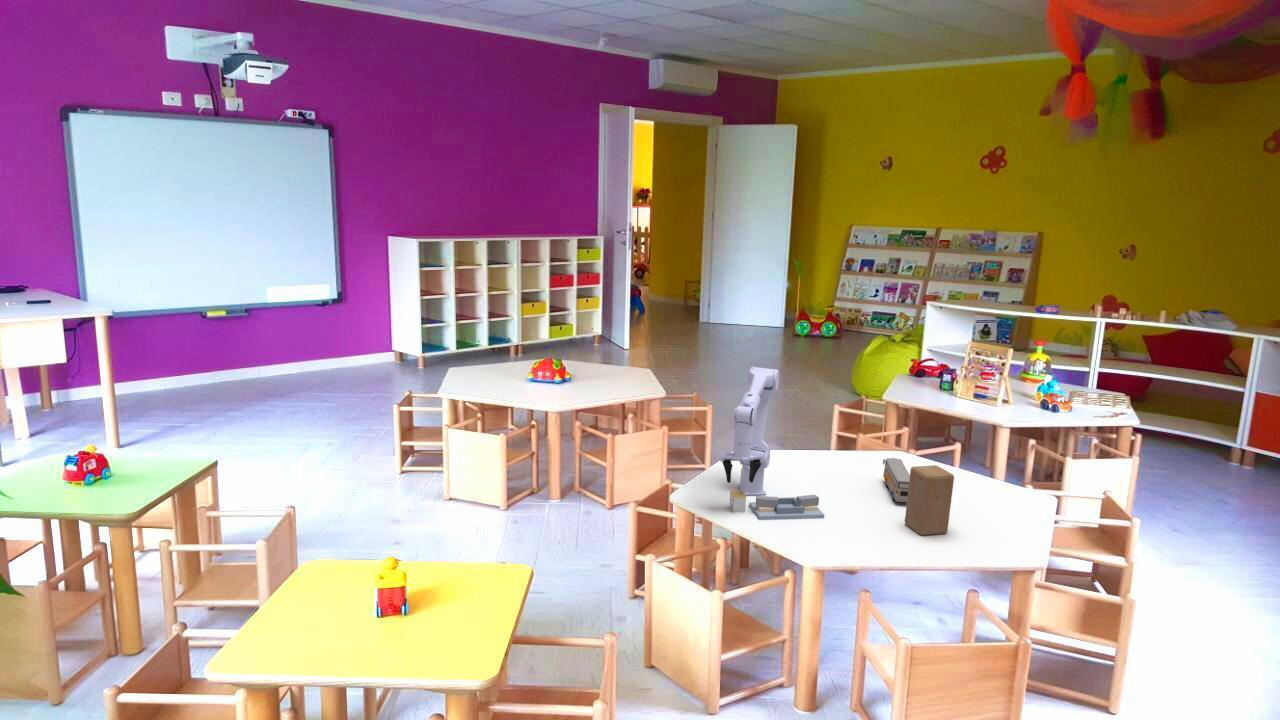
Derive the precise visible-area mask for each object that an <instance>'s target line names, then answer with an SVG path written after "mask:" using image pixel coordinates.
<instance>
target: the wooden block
mask: <svg viewBox="0 0 1280 720" xmlns="http://www.w3.org/2000/svg"><path fill="white" fill-rule="evenodd" d="M909 472H910V473H909V474H910V479H909V488H908V497H907V502H906V506H905V508H906V509H905V516H904V525H906V526H907V527H909V528H910V529H911V530H913V531H915V532H916V533H917V534H918V535H920V536H931V535H940V534H941V535H942V534H947V533H948V529H949V524H950V523H949V522H950V513H951V512H950V511H951V506H952V496H953V490H954V483H955V482H954V481H955V475H954V474H953V473H951V472H949V471H947V470H946V469H944V468H942V467H940V466H938V465H935V464H934V465H920V466H919V465H917V466H911V468H910V471H909Z"/></svg>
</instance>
